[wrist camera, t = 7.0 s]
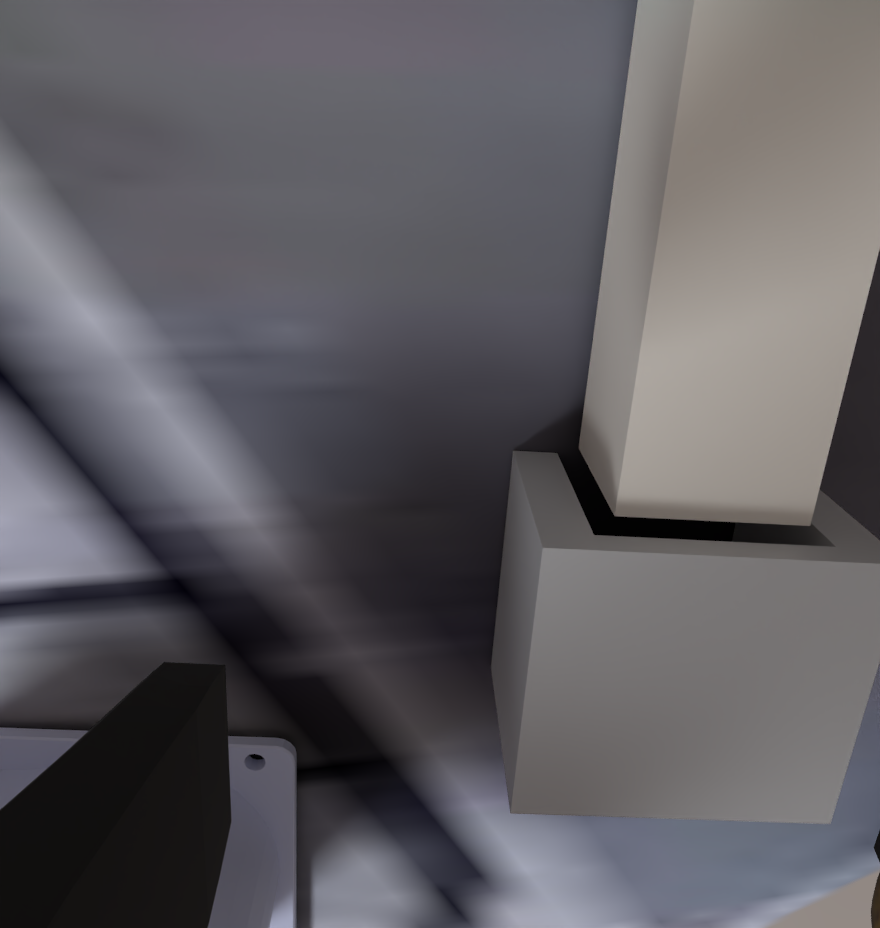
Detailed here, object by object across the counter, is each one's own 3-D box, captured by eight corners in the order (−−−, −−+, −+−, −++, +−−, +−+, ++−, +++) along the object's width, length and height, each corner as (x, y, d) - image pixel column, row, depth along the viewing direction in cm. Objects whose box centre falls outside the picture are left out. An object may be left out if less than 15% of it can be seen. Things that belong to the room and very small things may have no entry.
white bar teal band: (542, 445, 18) (579, 536, 14) (620, -225, 14) (707, -391, 9) (773, 458, 18) (878, 550, 14) (921, -198, 14) (1137, -348, 10)
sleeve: (491, 667, 20) (510, 813, 16) (513, 450, 18) (542, 547, 14) (741, 678, 21) (830, 824, 16) (791, 465, 19) (908, 565, 14)
